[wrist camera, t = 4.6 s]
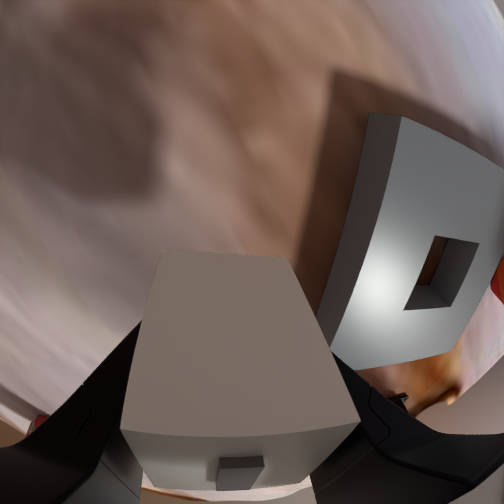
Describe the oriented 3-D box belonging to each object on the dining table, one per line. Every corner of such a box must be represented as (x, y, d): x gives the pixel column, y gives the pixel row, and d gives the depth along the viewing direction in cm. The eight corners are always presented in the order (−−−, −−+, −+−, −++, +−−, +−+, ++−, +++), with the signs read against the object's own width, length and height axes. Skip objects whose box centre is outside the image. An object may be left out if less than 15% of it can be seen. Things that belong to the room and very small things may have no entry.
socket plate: (434, 331, 22) (450, 351, 20) (305, 343, 20) (317, 374, 17) (498, 172, 15) (524, 184, 13) (369, 112, 13) (401, 116, 10)
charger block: (266, 344, 11) (301, 489, 6) (166, 340, 10) (154, 494, 5) (286, 257, 9) (365, 432, 4) (162, 249, 9) (118, 442, 3)
